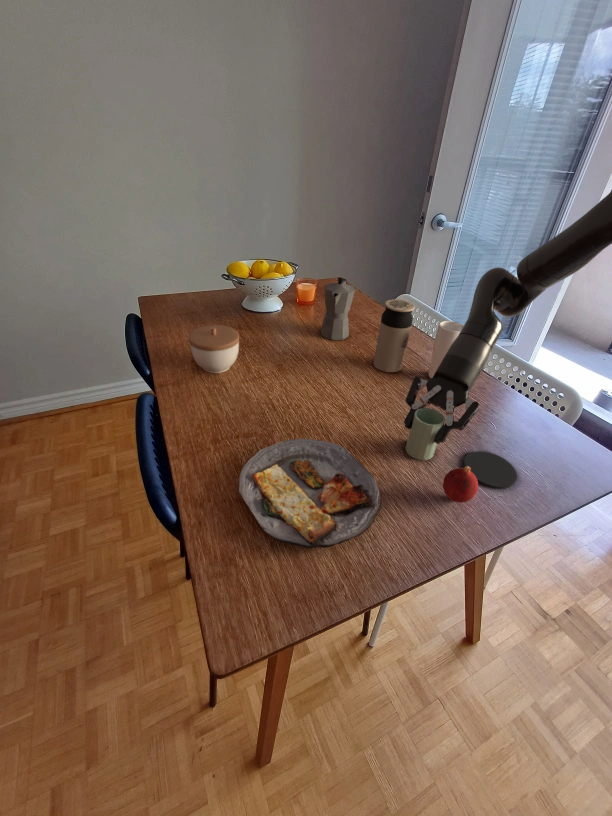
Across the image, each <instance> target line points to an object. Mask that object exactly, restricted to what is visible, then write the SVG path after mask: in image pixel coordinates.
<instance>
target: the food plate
mask: <svg viewBox="0 0 612 816" xmlns="http://www.w3.org/2000/svg"><path fill="white" fill-rule="evenodd" d="M379 488H380V487H379V484H378V482H377V479H376V478H375V476H374V475H373V474H372V473H371V472H370V471H369V469H367V468H366V467H365V466H364V465H363V464H362V463H361V462H360V461H359V459H357V458H356V457H355V456H354V455H353V454H352V453H351V452H349V450H347V449H346V448H345V447H343V446H342V445H339V444H338V443H334V442H329V441H325V440H317V439H312V438H294V439H286V440H282V441H279V442H277V443H274V444H272V445H269V446H266V447H264V448H261V449H260V450H258V451H257V452H256V453H255V454H254V455H253V456H252V457H251V458H249V459H248V461H247V462H246V463H245V464H244V466H243V467H242V469H241V471H240V474H239V478H238V493H239V494H240V496H241V497H242V499H243V501H244V502H245V504H246V505H247V507H248V509H249V510H250V512H251V514H252V515H253V516H254V518H255V520H256V521H257V523H258V524H259V526H260V527H261V529H262V531H263V532H265V533H266V534H267V535H269V537H271V538H273V539H274V540H276V541H278V542H281V543H284V544H285V543H286V544H289V545H290V544H291V545H294V546H298V547H304V548H307V549H313V548H329V547H334V546H336V545H340V544H342V543H345V542H348V541H351V540H352V539H356V538H358V537H359V536H362V535H363V534H364V533H366V531H368V530H369V529H370V528H371V527H372V525H373V524H374V522H375V519H376V517H377V515H378V513H379V512H380V510H381V508H382V499H381V491H380V489H379Z"/></svg>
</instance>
